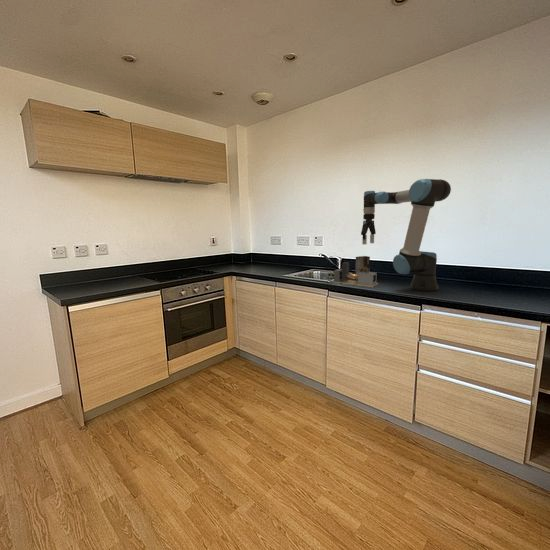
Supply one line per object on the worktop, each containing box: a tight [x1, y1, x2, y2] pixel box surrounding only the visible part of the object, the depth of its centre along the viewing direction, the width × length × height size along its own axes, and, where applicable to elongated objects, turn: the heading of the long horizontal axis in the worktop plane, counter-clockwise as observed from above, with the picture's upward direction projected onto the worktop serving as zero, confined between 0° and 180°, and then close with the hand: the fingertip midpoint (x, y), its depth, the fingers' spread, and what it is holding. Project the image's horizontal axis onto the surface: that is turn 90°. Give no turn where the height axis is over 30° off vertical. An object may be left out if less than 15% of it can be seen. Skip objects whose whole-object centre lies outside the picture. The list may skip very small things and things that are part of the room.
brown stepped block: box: [340, 261, 358, 281], centre depth 200 cm, size 18×4×13 cm, turn 50°
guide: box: [331, 271, 380, 288], centre depth 199 cm, size 30×10×8 cm, turn 50°
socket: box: [333, 268, 342, 282], centre depth 206 cm, size 4×8×8 cm, turn 140°
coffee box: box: [354, 255, 371, 274], centre depth 222 cm, size 9×6×16 cm
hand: (368, 243), depth 205 cm, fingers open, 13 cm apart
